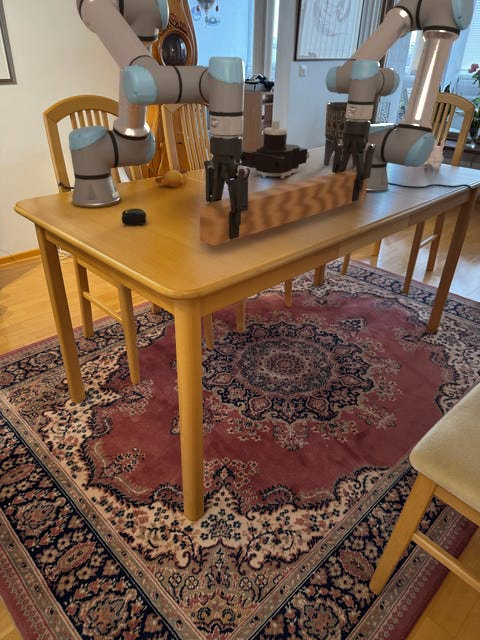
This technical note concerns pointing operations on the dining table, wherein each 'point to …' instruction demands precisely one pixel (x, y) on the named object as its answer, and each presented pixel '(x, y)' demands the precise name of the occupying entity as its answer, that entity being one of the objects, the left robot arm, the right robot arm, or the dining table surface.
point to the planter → (335, 128)
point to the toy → (173, 178)
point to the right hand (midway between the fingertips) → (347, 198)
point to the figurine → (435, 157)
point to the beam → (279, 206)
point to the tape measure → (133, 216)
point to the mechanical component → (275, 154)
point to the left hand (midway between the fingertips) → (226, 234)
